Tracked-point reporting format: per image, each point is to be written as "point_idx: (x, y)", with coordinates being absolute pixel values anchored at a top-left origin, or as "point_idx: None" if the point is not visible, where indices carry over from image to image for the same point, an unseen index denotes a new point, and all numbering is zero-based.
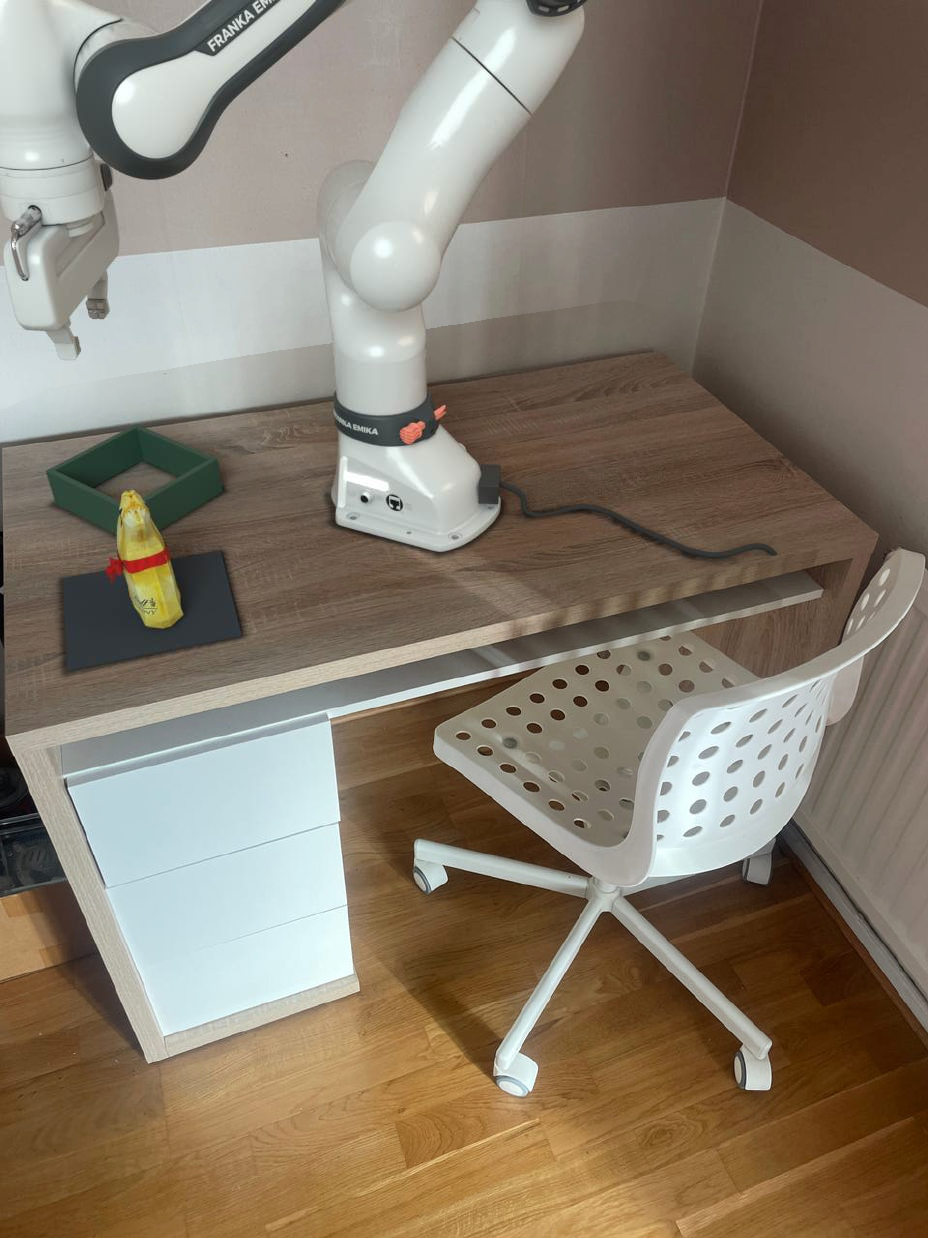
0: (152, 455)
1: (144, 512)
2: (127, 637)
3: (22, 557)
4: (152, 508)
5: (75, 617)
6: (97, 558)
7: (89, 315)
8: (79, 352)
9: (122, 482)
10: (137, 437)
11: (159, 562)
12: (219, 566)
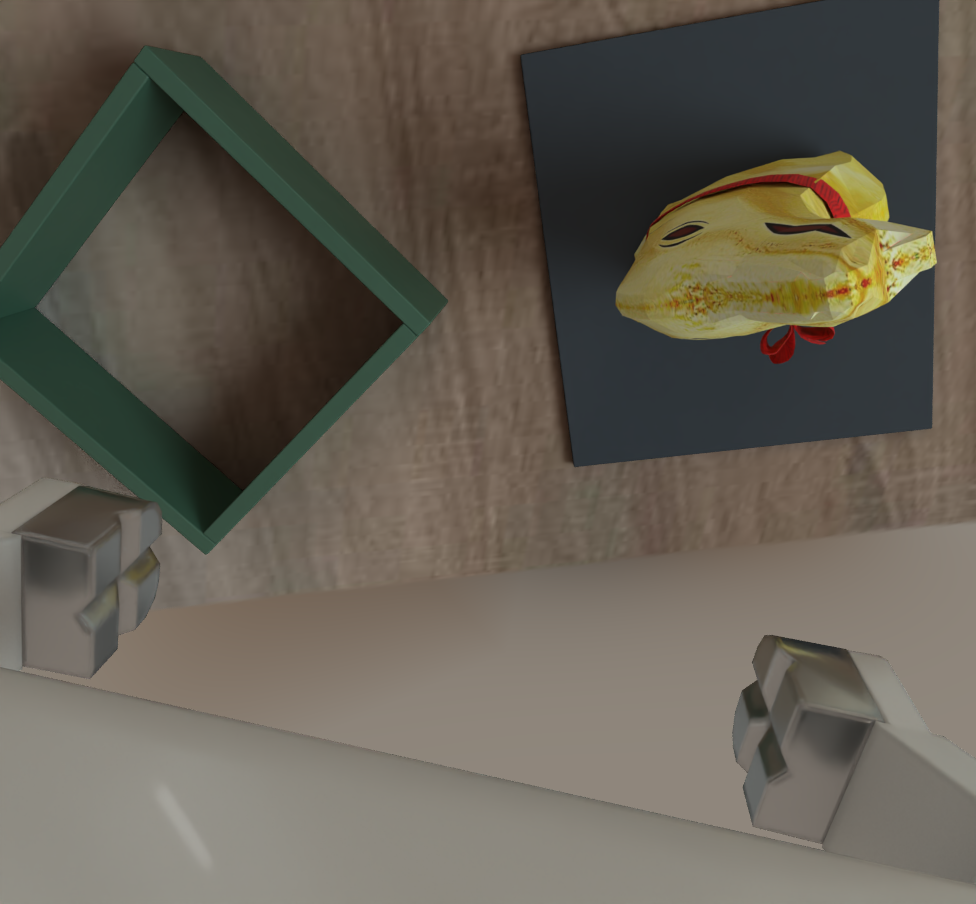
0: (41, 279)
1: (891, 232)
2: None
3: (462, 560)
4: (377, 257)
5: (740, 426)
6: (493, 395)
7: (143, 612)
8: (821, 646)
9: (147, 357)
10: None
11: (841, 201)
12: (600, 56)
